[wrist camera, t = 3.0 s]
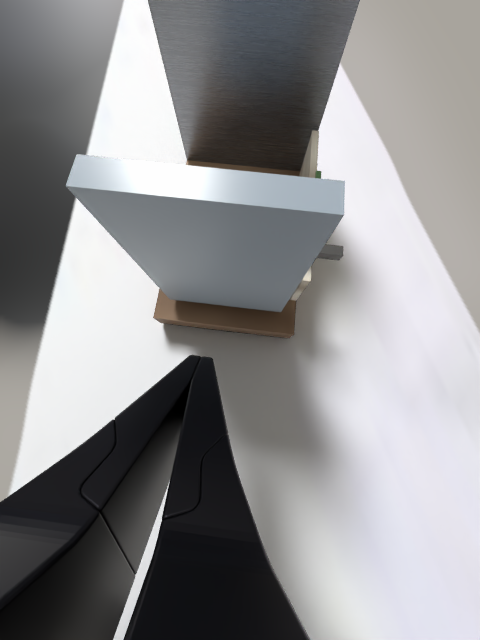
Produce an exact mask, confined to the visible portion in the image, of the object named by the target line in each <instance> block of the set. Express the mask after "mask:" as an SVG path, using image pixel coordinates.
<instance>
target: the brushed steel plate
mask: <svg viewBox="0 0 480 640" xmlns="http://www.w3.org/2000/svg"><path fill="white" fill-rule="evenodd" d="M359 1H360V0H148V3H149V7H150V11H151V15H152V19H153V23H154V27H155V31H156V35H157V40H158V44H159V48H160V52H161V56H162V60H163V64H164V68H165V72H166V76H167V80H168V84H169V88H170V92H171V97H172V101H173V105H174V109H175V113H176V117H177V121H178V125H179V129H180V133H181V137H182V141H183V145H184V150H185V154H186V158H187V160H190V161H200V162H210V163H220V164H231V165H241V166H251V167H261V168H271V169H281V170H291V171H301V167H302V164H303V160H304V157H305V154H306V150H307V147H308V144H309V140H310V137H311V133H312V130H314V131H318V130H319V126H320V123H321V120H322V117H323V114H324V111H325V108H326V105H327V101H328V98H329V95H330V92H331V89H332V86H333V83H334V79H335V76H336V73H337V70H338V67H339V64H340V61H341V57H342V54H343V51H344V48H345V45H346V42H347V39H348V35H349V32H350V29H351V26H352V23H353V20H354V17H355V14H356V11H357V7H358V4H359Z"/></svg>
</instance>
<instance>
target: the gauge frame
mask: <svg viewBox="0 0 480 640" xmlns="http://www.w3.org/2000/svg"><path fill="white" fill-rule="evenodd" d="M318 138H319V131H314V130H312V133H311V137H310V140H309V144H308V147H307V150H306V154H305V157H304V160H303V164H302V167H301V171H291V170H281V169H271V168H261V167H251V166H241V165H231V164H220V163H210V162H200V161H190V160H187V163H186V165H189V166H199V167H209V168H219V169H229V170H239V171H249V172H259V173H269V174H279V175H289V176H299V177H309V178H319V179H321V171H317V156H318ZM311 267H312V265H311ZM311 267H310V268H309V270H308V271H307V273H306V274H305V276H304V277H303V279H302V281H301V282H300V284H299V285H298V287H297V288H296V290H295V291H294V293H293V294H292V296H291V297H290V299H289V301H288V302H287V304H286V305H285V307H284V308H283V310H282V311H281V312H274V311H265V310H257V309H248V308H240V307H231V306H222V305H214V304H205V303H197V302H188V301H180V300H171V299H169V298H168V297H167V296H166V295H165V293H164V292H163V291H162V290H161V289H159V294H158V298H157V303H156V308H155V312H154V317H153V318H154V319H156V320H157V321H159V322H160V323H166V324H174V325H182V326H191V327H199V328H207V329H216V330H224V331H233V332H241V333H249V334H258V335H266V336H274V337H283V338H290V337H291V336H293V335H294V325H295V311H296V300H297V299H298V298H299V296H300V295H301V294H302V292H303V291H304V290H305V288H306V287H307V286H308V284H309V283H310V282H311Z"/></svg>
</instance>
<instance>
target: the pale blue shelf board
mask: <svg viewBox="0 0 480 640" xmlns="http://www.w3.org/2000/svg"><path fill="white" fill-rule="evenodd" d="M66 187H67V188H68V189H69V190H70V191H71V192H72V193H73V194H74V196H75V197H76V198H77V199H78V200H79V201H80V202H81V203H82V204H83V205H84V206H85V207H86V209H87V210H88V211H89V212H90V213H91V214H92V215H93V216H94V217H95V218H96V219H97V221H98V222H99V223H100V224H101V225H102V226H103V227H104V228H105V229H106V230H107V231H108V233H109V234H110V235H111V236H112V237H113V238H114V239H115V240H116V241H117V242H118V243H119V244H120V246H121V247H122V248H123V249H124V250H125V251H126V252H127V253H128V254H129V255H130V256H131V258H132V259H133V260H134V261H135V262H136V263H137V264H138V265H139V266H140V267H141V268H142V269H143V271H144V272H145V273H146V274H147V275H148V276H149V277H150V278H151V279H152V280H153V281H154V283H155V284H156V285H157V286H158V287H159V288H160V289H161V290H162V291H163V292H164V293H165V295H166V296H167V297H168V298H169V299H171V300H180V301H188V302H197V303H205V304H214V305H222V306H231V307H240V308H248V309H257V310H265V311H274V312H281V311H282V310H283V308H284V307H285V305H286V304H287V302H288V301H289V299H290V297H291V296H292V294H293V293H294V291H295V290H296V288H297V287H298V285H299V284H300V282H301V281H302V279H303V277H304V276H305V274H306V273H307V271H308V270H309V268H310V267H311V265H312V264H313V262H314V260H315V259H316V258H323V259H332V260H340V258H341V257H342V256H343V246H335V245H326V244H325V243H326V242H327V240H328V239H329V237H330V236H331V234H332V233H333V231H334V230H335V228H336V226H337V225H338V223H339V222H340V220H341V219H342V217H343V216H344V191H345V181H339V180H329V179H319V178H309V177H299V176H289V175H279V174H269V173H259V172H249V171H239V170H229V169H219V168H209V167H199V166H189V165H179V164H169V163H159V162H149V161H139V160H129V159H119V158H109V157H99V156H89V155H79V154H77V155H76V158H75V161H74V164H73V167H72V169H71V172H70V175H69V178H68V181H67V184H66Z"/></svg>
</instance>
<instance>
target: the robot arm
mask: <svg viewBox="0 0 480 640" xmlns="http://www.w3.org/2000/svg"><path fill="white" fill-rule="evenodd" d="M169 481H170V483H169ZM168 483H169V488H168V492H167V497H166V502H165V506H164V511H163V516H162V522H161V526H160V530H159V534H158V538H157V542H156V546H155V550H154V554H153V557H152V560H151V563H150V565H149V568H148V571H147V574H146V577H145V580H144V583H143V585H142V588H141V591H140V594H139V597H138V600H137V603H136V605H135V608H134V611H133V614H132V617H131V620H130V623H129V625H128V628H127V631H126V634H125V637H124V640H310V639H309V637H308V635H307V633H306V631H305V629H304V627H303V625H302V623H301V622H300V620H299V618H298V616H297V614H296V612H295V610H294V608H293V606H292V604H291V603H290V601H289V599H288V597H287V595H286V593H285V591H284V589H283V587H282V586H281V584H280V582H279V580H278V578H277V576H276V574H275V572H274V570H273V568H272V566H271V563H270V561H269V559H268V556H267V554H266V551H265V549H264V546H263V544H262V541H261V538H260V536H259V533H258V530H257V527H256V524H255V522H254V519H253V516H252V513H251V510H250V507H249V504H248V501H247V499H246V496H245V493H244V490H243V487H242V484H241V481H240V478H239V475H238V471H237V468H236V465H235V461H234V457H233V453H232V449H231V445H230V440H229V435H228V430H227V426H226V421H225V416H224V411H223V406H222V401H221V396H220V391H219V386H218V382H217V377H216V372H215V367H214V362H213V359H212V358H211V357H202V358H201V357H200V356H194V355H190V356H189V357H187V358H186V359H185V360H184V361H183V362H181V363H180V364H179V365H178V366H177V367H175V368H174V369H173V370H172V371H171V372H169V373H168V374H167V375H166V376H165V377H163V378H162V379H161V380H160V381H159V382H157V383H156V384H155V385H154V386H152V387H151V388H150V389H149V390H148V391H146V392H145V393H144V394H143V395H142V396H140V397H139V398H138V399H137V400H136V401H134V402H133V403H132V404H131V405H130V406H128V407H127V408H126V409H125V410H124V411H122V412H121V413H120V414H119V415H118V416H116V417H115V420H111V421H110V422H109V423H108V424H107V425H105V426H104V427H103V428H102V429H101V430H99V431H98V432H97V433H96V434H94V435H93V436H92V437H91V438H89V439H88V440H87V441H85V442H84V443H83V444H81V445H80V446H79V447H77V448H76V449H75V450H73V451H72V452H71V453H69V454H68V455H67V456H65V457H64V458H62V459H61V460H60V461H58V462H57V463H55V464H54V465H53V466H51V467H50V468H48V469H47V470H45V471H44V472H43V473H41V474H40V475H38V476H37V477H36V478H34V479H33V480H31V481H30V482H28V483H27V484H26V485H24V486H23V487H21V488H20V489H19V490H17V491H16V492H14V493H13V494H12V495H10V496H9V497H7V498H6V499H4V500H3V501H1V502H0V640H113V638H114V635H115V632H116V629H117V627H118V624H119V621H120V618H121V615H122V613H123V610H124V607H125V604H126V601H127V599H128V596H129V593H130V590H131V587H132V585H133V582H134V579H135V574H136V573H137V570H138V568H139V565H140V562H141V559H142V556H143V554H144V551H145V548H146V545H147V542H148V539H149V537H150V534H151V531H152V528H153V525H154V523H155V520H156V517H157V514H158V511H159V509H160V506H161V503H162V500H163V497H164V495H165V492H166V489H167V486H168Z"/></svg>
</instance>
